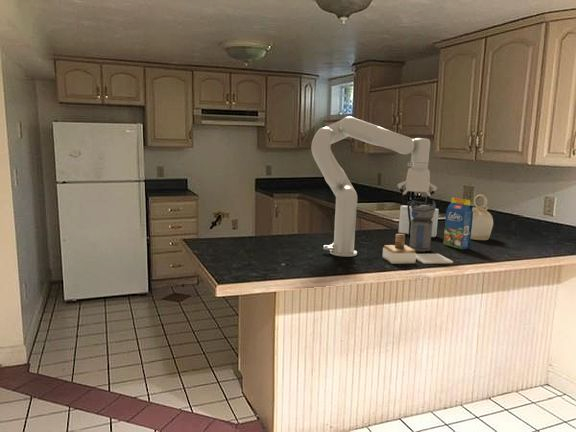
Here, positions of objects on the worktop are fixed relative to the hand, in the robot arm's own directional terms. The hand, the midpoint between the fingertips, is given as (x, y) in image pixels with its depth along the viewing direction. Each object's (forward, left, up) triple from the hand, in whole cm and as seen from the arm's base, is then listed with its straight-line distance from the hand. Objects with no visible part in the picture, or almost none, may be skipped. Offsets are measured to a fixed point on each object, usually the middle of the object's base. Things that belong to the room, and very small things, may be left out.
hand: (415, 203), depth 211 cm
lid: (-8, -5, -20) cm, 22 cm away
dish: (-8, -5, -25) cm, 27 cm away
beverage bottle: (+10, +14, -25) cm, 30 cm away
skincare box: (+27, +51, -25) cm, 63 cm away
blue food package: (+34, +20, -25) cm, 47 cm away
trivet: (+8, -4, -25) cm, 26 cm away
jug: (+58, +40, -25) cm, 75 cm away
